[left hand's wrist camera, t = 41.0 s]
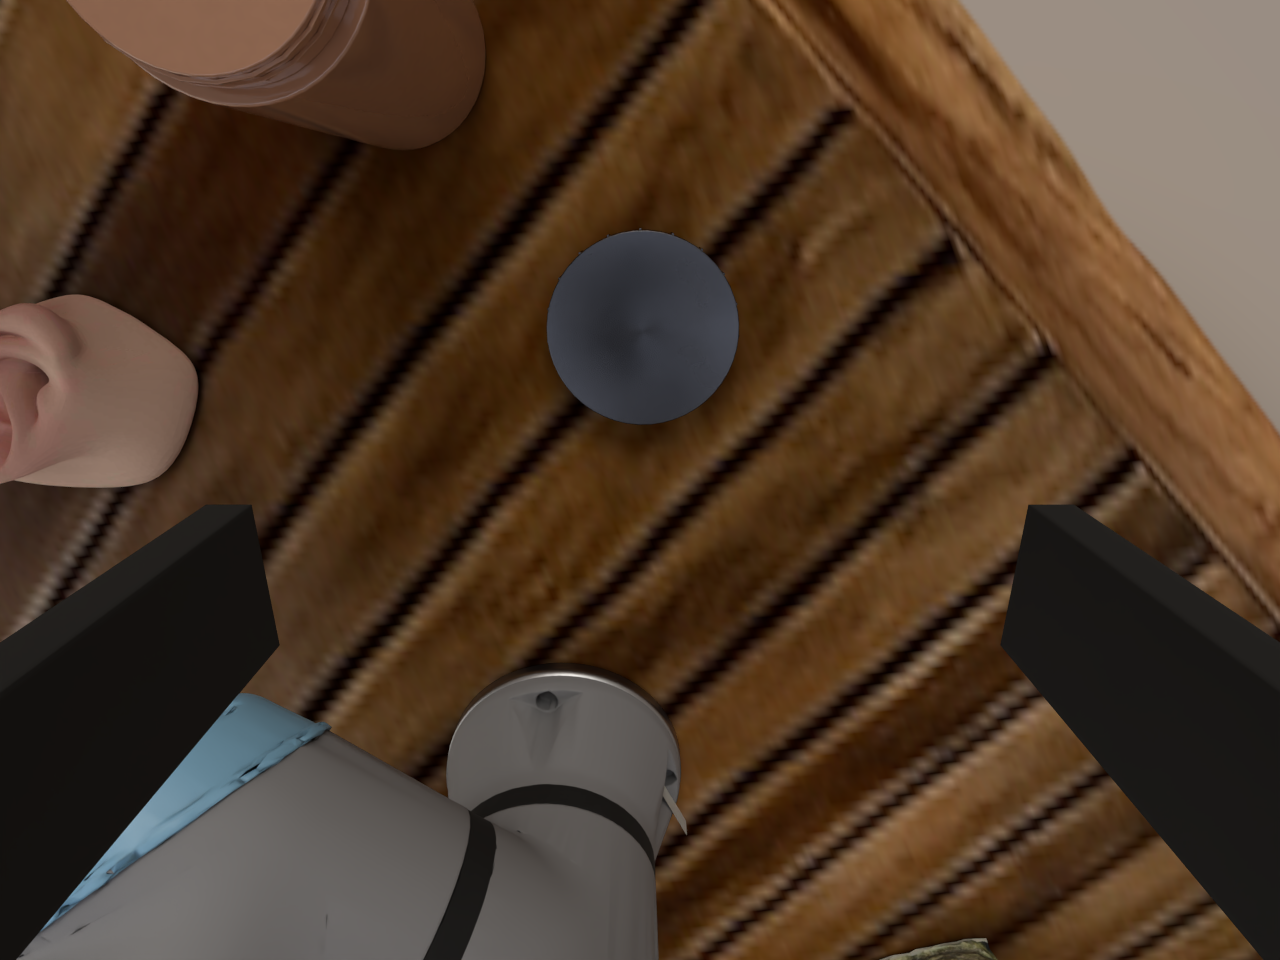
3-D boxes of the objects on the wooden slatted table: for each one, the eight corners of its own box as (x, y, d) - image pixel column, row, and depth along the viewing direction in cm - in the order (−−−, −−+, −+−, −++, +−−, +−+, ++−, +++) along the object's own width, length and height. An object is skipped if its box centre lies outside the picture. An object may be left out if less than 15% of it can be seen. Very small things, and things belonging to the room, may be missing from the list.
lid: (668, 186, 36) (669, 185, 35) (770, 349, 39) (777, 356, 37) (513, 301, 38) (506, 306, 36) (621, 448, 41) (620, 460, 39)
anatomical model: (152, 329, 35) (157, 541, 39) (199, 317, 39) (200, 512, 42) (-139, 270, 34) (-104, 494, 38) (-62, 265, 38) (-37, 469, 41)
